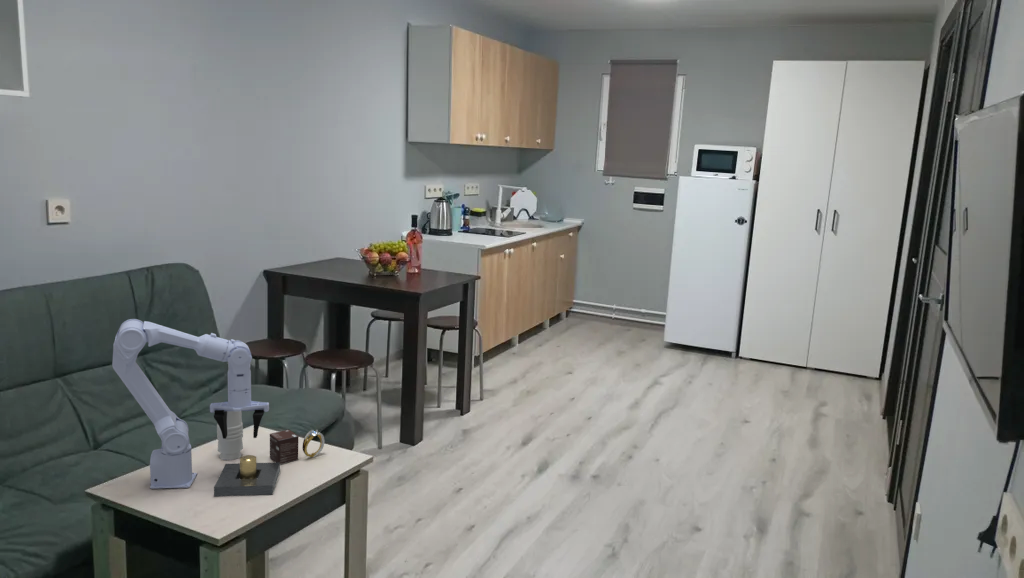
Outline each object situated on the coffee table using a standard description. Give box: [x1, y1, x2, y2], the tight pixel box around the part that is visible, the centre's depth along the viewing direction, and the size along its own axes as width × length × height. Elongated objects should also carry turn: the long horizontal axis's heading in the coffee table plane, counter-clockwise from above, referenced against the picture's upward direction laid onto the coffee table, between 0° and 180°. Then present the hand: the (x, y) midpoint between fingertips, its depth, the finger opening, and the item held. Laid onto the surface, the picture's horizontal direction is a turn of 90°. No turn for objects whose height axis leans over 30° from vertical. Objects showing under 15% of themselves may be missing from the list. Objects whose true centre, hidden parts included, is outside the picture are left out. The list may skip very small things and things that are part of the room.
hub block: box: [213, 461, 281, 497], centre depth 187 cm, size 14×14×2 cm
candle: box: [216, 411, 244, 461], centre depth 202 cm, size 7×7×15 cm
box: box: [269, 429, 300, 465], centre depth 202 cm, size 6×6×7 cm
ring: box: [302, 429, 325, 458], centre depth 205 cm, size 7×3×8 cm, turn 140°
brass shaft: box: [239, 454, 257, 479], centre depth 186 cm, size 4×4×7 cm
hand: (240, 436), depth 191 cm, fingers open, 7 cm apart
